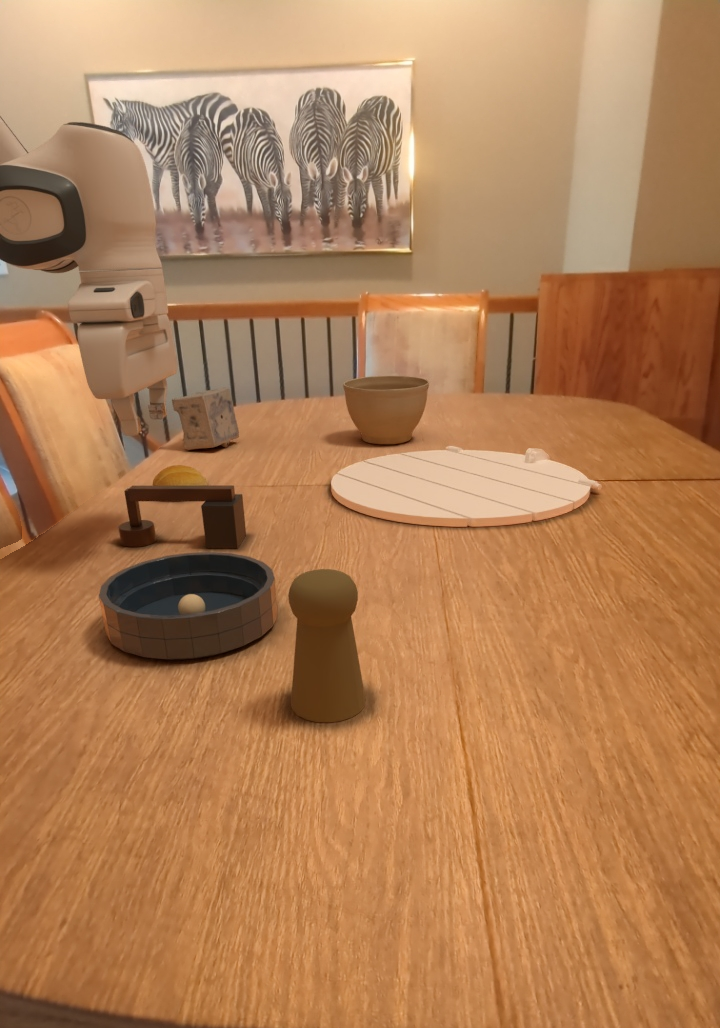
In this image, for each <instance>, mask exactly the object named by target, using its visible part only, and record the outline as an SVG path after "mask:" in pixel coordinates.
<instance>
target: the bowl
mask: <svg viewBox="0 0 720 1028" xmlns="http://www.w3.org/2000/svg"><path fill="white" fill-rule="evenodd" d="M189 594H195V595H198V596H199V597H201V598H202V599H203V601H204V603H205V612H201V613H195V614H188V615H180V613H179V610H178V604H179V602H180V600H181V599H182V598H183V597H184V596H186V595H189ZM98 599H99V604H100V605H99V606H100V610H101V615H102V620H103V625H104V630H105V634H106V636H107V638H108V640H109V642H110V644H112V645H113V646H114V647H116V648H117V649H119V650H121V651H123V652H125V653H127V654H131V655H136V656H139V657H142V658H149V659H155V660H169V661H178V660H179V661H183V660H194V659H203V658H207V657H212V656H213V657H214V656H218V655H221V654H226V653H228V652H231V651H234V650H236V649H239V648H241V647H244V646H246V645H248V644H250V643H252V642H253V641H255V640H258V639H259V638H261V637H263V636H264V635H265V634H266V633H267V632H269V631H270V629H271V628H273V627H274V625H275V623H276V621H277V618H278V616H279V614H278V601H277V589H276V578H275V574H274V571H273V569H272V568H271V567H270V566H268V564H266V563H265V562H264V561H261V560H259V559H257V558H254V557H252V556H248V555H244V554H243V555H242V554H236V553H231V552H218V551H203V552H185V553H177V554H170V555H164V556H160V557H156V558H152V559H148V560H144V561H141V562H138V563H135V564H133V565H130V566H128V567H125V568H123V569H122V570H120V571H118V572H115V573H114V574H112V575H111V576H109V577H108V578H107V579H106V580H105V581H104V583H102V584H101V586H100V589H99V593H98Z"/></svg>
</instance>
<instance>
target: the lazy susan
mask: <svg viewBox="0 0 720 1028" xmlns="http://www.w3.org/2000/svg"><path fill="white" fill-rule="evenodd" d="M330 488H331V489H330V491H331V495H332V497H333V498H334V499H335V500H336V501H337V502H338V503H339V504H340V505H342V506H344V507H346V508H348V509H350V510H352V511H355V512H357V513H360V514H363V515H367V516H370V517H374V518H377V519H378V518H379V519H382V520H387V521H392V522H398V523H405V524H413V525H420V526H421V525H422V526H433V527H454V528H456V527H459V528H463V527H464V528H467V527H468V526H469V527H470V528H471V527H476V528H478V527H499V526H509V525H519V524H525V523H532V522H537V521H542V520H543V521H544V520H547V519H551V518H554V517H559V516H562V515H565V514H567V513H570V512H572V511H573V510H576V509H577V508H578V509H579V507H581V506H582V505H584V504H585V503H586V502H587V501H588V500H589V497H590V494H591V489H593V490H596V491H601V490H602V488H603V485H602V484H601V483H599V482H598V481H597V480H593V479H589V478H588V477H587V475H585V473H583V472H581V471H579V470H578V469H576V468H574V467H572V466H569V465H567V464H564V463H561V462H558V461H555V460H551V457H550V455H549V454H548V452H546V451H545V450H544V449H543V448H538V447H537V448H535V447H534V448H533V447H528V448H527V450H526V451H525V454H521V453H514V452H505V451H497V450H496V451H494V450H481V449H480V450H479V449H478V450H477V449H463V448H462V447H459V446H454V445H448V446H445V447H444V449H436V450H435V449H433V450H418V451H408V452H400V453H392V454H386V455H381V456H376V457H372V458H367V459H364V460H361V461H357V462H355V463H352V464H350V465H348V466H347V465H346V467H344V468H342V469H340V470H339V471H337V472H336V473H335V474H334V475H333V476H332V478H331V481H330Z"/></svg>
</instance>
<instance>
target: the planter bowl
mask: <svg viewBox="0 0 720 1028" xmlns="http://www.w3.org/2000/svg"><path fill="white" fill-rule="evenodd" d="M429 386H430V381H429V380H428V379H426V378H423V377H417V376H409V375H408V376H407V375H373V376H372V375H371V376H363V377H357V378H353V379H348V380H346V381H344V382H343V384H342V387H343V390H344V397H345V398H344V399H345V405H346V409H347V411H348V414H349V417H350V419H351V421H352V423H353V425H354V426H355V427H356V429H357V430H358V431H359V433H360V435H361V438H362V441H363V442H365V443H369V444H374V445H397V444H404V443H407V442H409V441H410V440H412V436H413V432H414V430H415V429H416V428H417V426H418V425H419V424H420V421H421V419H422V417H423V415H424V412H425V410H426V405H427V401H428V392H429V391H428V390H429Z"/></svg>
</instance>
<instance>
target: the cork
mask: <svg viewBox="0 0 720 1028" xmlns="http://www.w3.org/2000/svg"><path fill="white" fill-rule="evenodd" d="M287 596H288V604H289V606H290V608H291V609H290V610H291V612H292V614H293V616H294V617H295V618H296V629H295V630H296V631H295V644H294V654H293V655H294V657H293V669H292V672H293V673H292V681H291V682H292V683H291V695H290V697H291V698H290V706H291V710H292V711H293V712H294V714H296V715H297V716H298V717H300V718H302V719H304V720H306V721H310V722H314V723H330V724H331V723H336V722H343V721H345V720H348V719H351V718H354V717H355V716H357V715H358V714H359V713H362V710H363V709H364V708H365V706H366V694H365V689H364V681H363V676H362V671H361V665H360V664H361V663H360V659H359V653H358V647H357V642H356V636H355V632H354V630H355V629H354V624H353V618H352V616H353V614H355V612H356V609H357V605H358V600H359V591H358V588H357V585H356V583H355V581H354V580H353V578H352V577H351V576H350V575H349V574H347V573H345V572H343V571H340V570H337V569H330V568H320V569H319V568H318V569H311V570H308V571H305V572H303V573H300V574H299V575H298V576H296V577H295V578H294V579H293V580H292V583H291V584H290V586H289V590H288V595H287Z"/></svg>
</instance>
